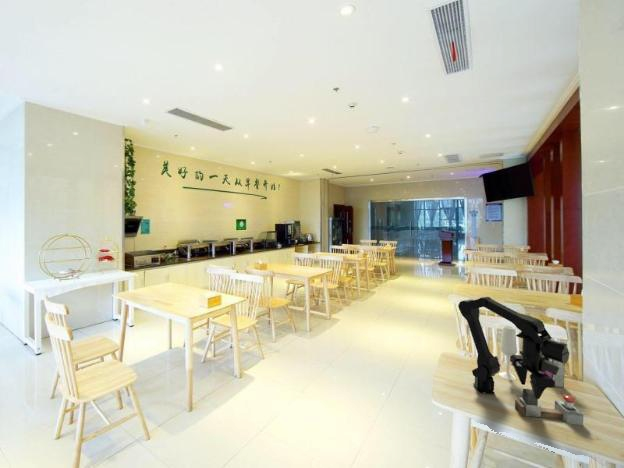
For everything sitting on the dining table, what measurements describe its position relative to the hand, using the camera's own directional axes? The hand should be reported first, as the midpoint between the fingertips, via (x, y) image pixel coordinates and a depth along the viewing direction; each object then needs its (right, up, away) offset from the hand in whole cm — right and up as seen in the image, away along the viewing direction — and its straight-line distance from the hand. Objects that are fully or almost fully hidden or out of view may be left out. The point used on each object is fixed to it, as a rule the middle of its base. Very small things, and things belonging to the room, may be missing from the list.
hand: (529, 391), depth 107 cm
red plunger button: (+13, -6, -2) cm, 14 cm away
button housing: (+13, -9, -2) cm, 16 cm away
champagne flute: (+10, -8, +26) cm, 29 cm away
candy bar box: (+28, -8, +23) cm, 37 cm away
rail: (+3, -9, 0) cm, 9 cm away
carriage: (0, -9, 0) cm, 9 cm away
